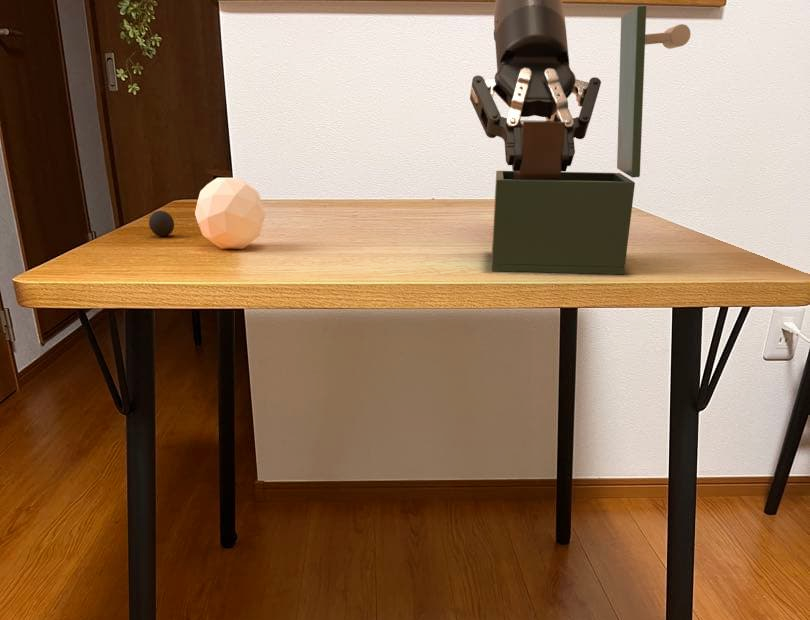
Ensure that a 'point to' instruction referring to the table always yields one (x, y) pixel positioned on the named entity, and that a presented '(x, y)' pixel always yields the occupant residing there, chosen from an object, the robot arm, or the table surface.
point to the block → (540, 150)
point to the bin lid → (637, 82)
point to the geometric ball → (230, 213)
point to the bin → (562, 223)
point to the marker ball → (161, 223)
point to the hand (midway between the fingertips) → (541, 164)
